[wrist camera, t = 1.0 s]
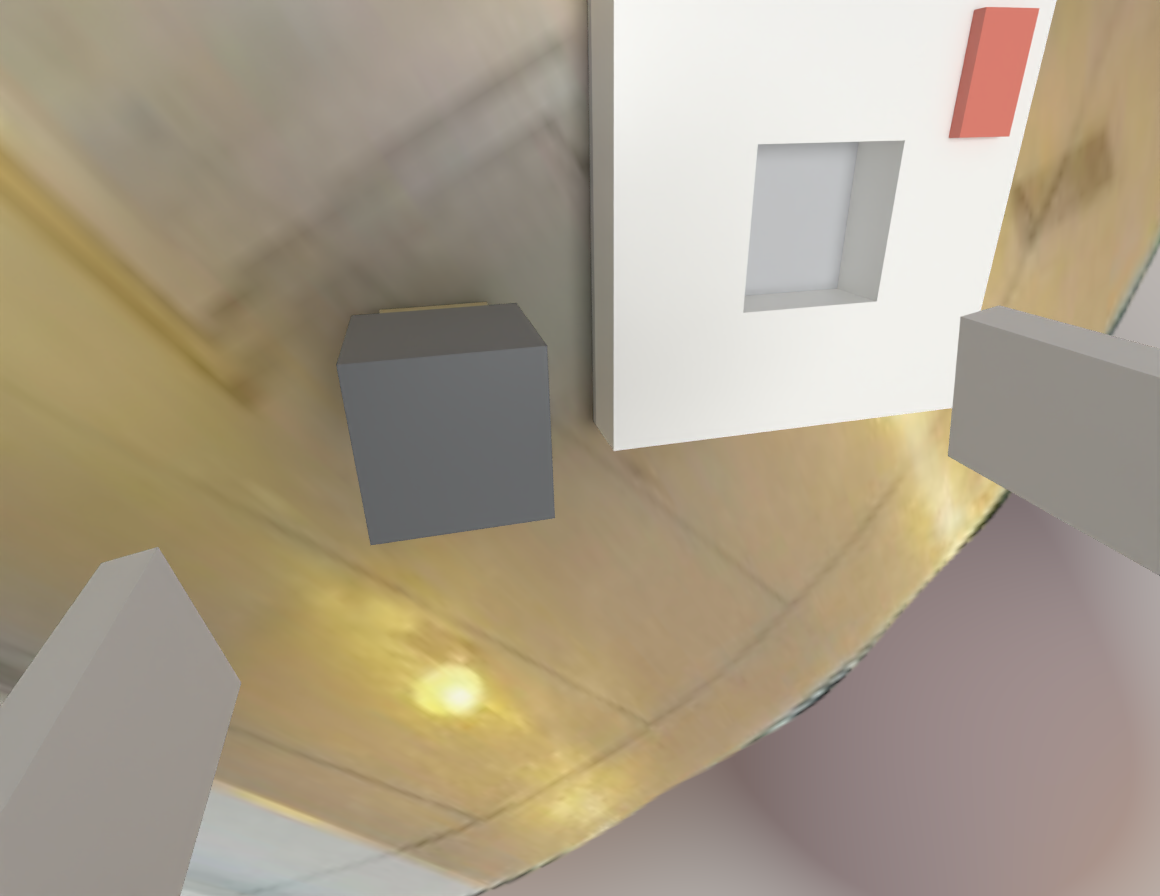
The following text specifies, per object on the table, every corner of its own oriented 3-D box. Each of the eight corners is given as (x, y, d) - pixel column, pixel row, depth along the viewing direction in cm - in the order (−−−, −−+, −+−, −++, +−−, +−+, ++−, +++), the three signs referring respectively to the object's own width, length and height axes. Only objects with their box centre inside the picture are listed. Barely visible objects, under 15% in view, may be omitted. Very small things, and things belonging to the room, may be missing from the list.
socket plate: (593, 421, 32) (617, 456, 28) (587, -22, 24) (619, -51, 21) (909, 384, 36) (965, 411, 32) (990, -10, 28) (1077, -33, 24)
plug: (380, 425, 29) (370, 545, 21) (358, 293, 27) (336, 364, 18) (511, 411, 31) (554, 518, 22) (502, 283, 28) (547, 345, 19)
